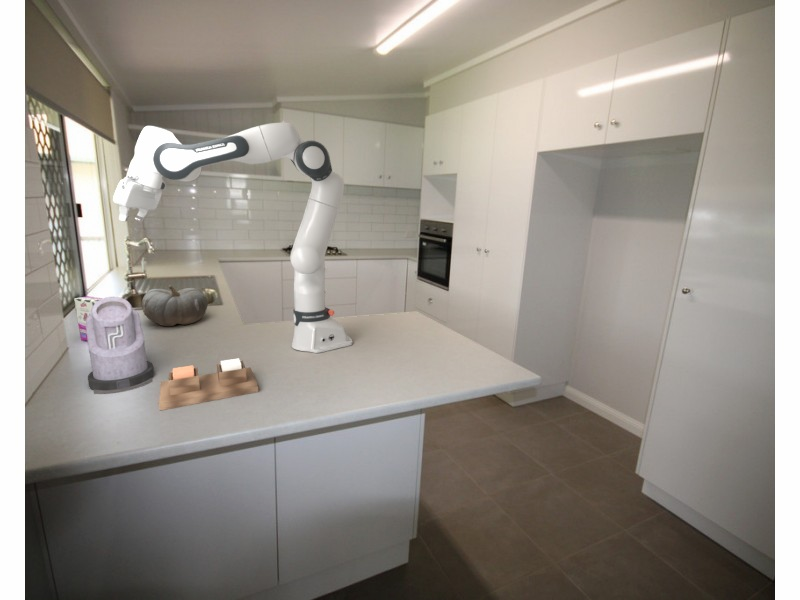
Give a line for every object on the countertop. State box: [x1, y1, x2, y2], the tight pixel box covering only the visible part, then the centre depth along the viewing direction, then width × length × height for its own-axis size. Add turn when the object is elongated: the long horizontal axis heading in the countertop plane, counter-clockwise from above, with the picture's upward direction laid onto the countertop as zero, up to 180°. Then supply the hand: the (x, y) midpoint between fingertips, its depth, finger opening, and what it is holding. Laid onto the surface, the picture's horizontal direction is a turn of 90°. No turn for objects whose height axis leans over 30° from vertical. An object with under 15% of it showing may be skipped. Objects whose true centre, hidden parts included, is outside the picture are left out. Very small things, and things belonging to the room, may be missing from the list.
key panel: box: [158, 360, 259, 411], centre depth 112 cm, size 24×14×6 cm, turn 118°
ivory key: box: [220, 357, 242, 372], centre depth 114 cm, size 5×5×3 cm
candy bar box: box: [73, 295, 103, 343], centre depth 149 cm, size 11×5×16 cm, turn 68°
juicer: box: [86, 296, 155, 395], centre depth 120 cm, size 30×16×24 cm, turn 36°
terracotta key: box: [172, 364, 195, 380], centre depth 109 cm, size 5×5×3 cm
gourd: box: [141, 284, 209, 327], centre depth 174 cm, size 25×25×17 cm
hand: (130, 221), depth 124 cm, fingers open, 8 cm apart
